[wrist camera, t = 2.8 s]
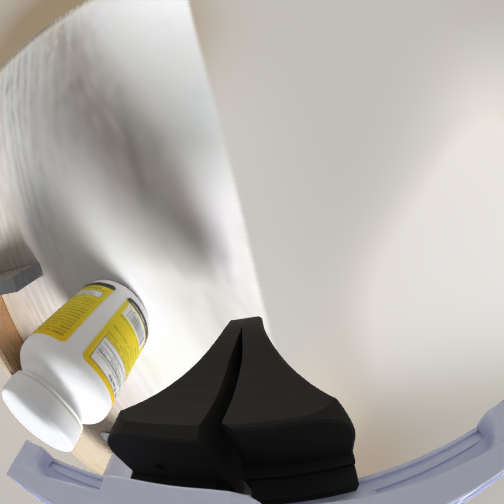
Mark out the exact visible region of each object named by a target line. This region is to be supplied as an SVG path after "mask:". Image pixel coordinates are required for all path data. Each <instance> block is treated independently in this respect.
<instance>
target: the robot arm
mask: <svg viewBox="0 0 504 504" xmlns="http://www.w3.org/2000/svg"><path fill="white" fill-rule="evenodd" d="M101 436H102V437H103V439H104V440H105V441H106V442H107V443H108V445H109V447H110V449H111V450H112V451H113V452H112V455H111V457H110V460H109V462H108V464H107V467H106V469H105V472H104V474H103V476H101V475H97V474H94V473H91V472H88V471H85V470H82V469H79V468H77V467H74V466H71V465H68V464H66V463H64V462H61V461H59V460H57V459H54V458H53V456H52V455H51V454H50V453H49V452H48V451H46V450H45V449H44V448H43V447H41V446H39V445H37V444H35V443H33V442H31V441H29V440H26V442H25V443H24V445H23V446H22V448H21V450H20V451H19V453H18V455H17V457H16V458H15V460H14V462H13V463H12V465H11V467H10V469H9V470H8V472H7V475H8V476H9V477H10V478H11V479H13V480H14V481H15V482H16V483H17V484H18V485H20V486H21V487H22V488H24V489H25V490H26V491H27V492H29V493H30V494H32V495H33V496H34V497H36V498H37V499H38V500H40V501H41V502H43V503H44V504H464V503H465V502H467V501H468V500H470V499H472V498H473V497H475V496H476V495H478V494H479V493H480V492H482V491H483V490H485V489H486V488H488V487H489V486H490V485H492V484H493V483H494V482H496V481H497V480H498V479H499V478H501V477H502V476H503V475H504V400H503V401H501V402H500V403H499V404H497V405H496V406H494V407H493V408H491V409H490V410H489V411H488V412H487V413H486V414H485V415H484V416H483V417H482V418H481V420H480V421H479V423H478V425H477V427H476V428H474V429H472V430H471V431H469V432H467V433H466V434H464V435H462V436H460V437H459V438H457V439H455V440H453V441H451V442H450V443H448V444H446V445H444V446H442V447H440V448H438V449H436V450H434V451H431V452H429V453H427V454H425V455H423V456H421V457H418V458H416V459H414V460H411V461H408V462H406V463H403V464H401V465H398V466H396V467H393V468H390V469H387V470H384V471H381V472H378V473H375V474H372V475H368V476H365V477H362V478H357V473H356V469H355V465H354V464H355V458H354V455H353V447H354V441H355V429H354V426H353V424H352V422H351V420H350V418H349V416H348V414H347V413H346V411H345V410H344V408H343V407H342V405H341V404H340V403H339V401H338V400H337V399H336V398H334V397H332V396H330V395H328V394H326V393H324V392H323V391H321V390H319V389H318V388H316V387H315V386H313V385H312V384H310V383H309V382H308V381H306V380H305V379H304V378H303V377H301V376H300V375H299V374H298V373H296V371H294V370H293V369H292V368H291V367H290V366H289V365H288V364H287V363H286V361H285V360H284V359H283V358H282V357H281V355H280V354H279V353H278V352H277V350H276V349H275V347H274V346H273V344H272V343H271V341H270V339H269V338H268V336H267V334H266V332H265V330H264V326H263V321H262V318H261V317H259V316H258V317H251V318H245V319H238V320H231V321H230V322H229V323H228V325H227V326H226V328H225V329H224V330H223V332H222V333H221V335H220V336H219V337H218V339H217V340H216V341H215V343H214V344H213V345H212V346H211V348H210V349H209V350H208V351H207V353H206V354H205V355H204V356H203V357H202V358H201V359H200V360H199V361H198V362H197V363H196V364H195V365H194V366H193V367H192V368H191V369H190V370H189V371H188V372H187V373H186V374H184V375H183V376H182V377H181V378H179V379H178V380H177V381H175V382H174V383H173V384H171V385H170V386H168V387H167V388H166V389H164V390H162V391H161V392H159V393H157V394H156V395H154V396H152V397H150V398H149V399H147V400H145V401H143V402H140V403H138V404H136V405H134V406H131V407H129V408H127V409H124V410H121V411H120V413H119V415H118V417H117V419H116V421H115V423H114V425H113V428H112V430H111V432H110V433H104V432H103V433H102V434H101Z"/></svg>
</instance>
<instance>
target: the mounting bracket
mask: <svg viewBox="0 0 504 504" xmlns="http://www.w3.org/2000/svg"><path fill="white" fill-rule="evenodd" d="M42 275H43V274H42V271H41V268H40V265H39V262H36V263H33V264H30V265H26V266H23V267H20V268H16V269H13V270H10V271H7V272H4V273H0V356H1V358H2V360H3V361H4V363H5V365H6V366H7V368H8V370H9V371H10V373H11V374H12V375H13V374H15V373H16V372H17V371H20V370H22V367H21V362H20V352H21V347H22V345H23V342H22V340H21V338H20V336H19V334H18V332H17V330H16V328H15V326H14V324H13V322H12V320H11V317H10V315H9V313H8V311H7V308H6V306H5V304H4V301H3V299H2V296H1V295H3V294H8V293H13V292H18V291H19V290H21V289H22V288H24V287H25V286H27V285H28V284H30V283H31V282H33V281H34V280H36V279H37V278H39V277H40V276H42ZM22 371H23V370H22Z"/></svg>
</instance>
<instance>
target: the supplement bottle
mask: <svg viewBox="0 0 504 504" xmlns="http://www.w3.org/2000/svg"><path fill="white" fill-rule="evenodd" d="M149 330H150V325H149V319H148V315H147V313H146V310H145V308H144V306H143V305H142V303H141V302H140V300H139V299H138V298H137V297H136V296H135V295H134V294H133V293H132V292H131V291H130V290H129V289H127V288H126V287H124V286H123V285H121V284H119V283H116V282H114V281H110V280H96V281H93V282H91V283H89V284H88V285H86V286H85V287H84V288H82V289H81V290H80V291H79V292H78V293H76V294H75V295H74V296H73V297H72V298H71V299H70V300H69V301H67V302H66V303H65V304H64V305H63V306H62V307H61V308H59V309H58V310H57V311H56V312H55V313H54V314H53V315H52V316H51V317H49V318H48V319H47V320H46V321H45V322H44V323H43V324H42V325H41V326H40V327H39V328H38V329H36V330H35V331H34V332H33V333H32V334H31V335H30V336H29V337H28V338H27V339H26V341H25V342H24V343H23V345H22V347H21V352H20V362H21V367H22V370H23V371H22V370H20V371H17V372H16V373H15V374H13V375H12V376H11V378H10V379H9V381H8V382H7V383H6V384H5V386H4V387H3V388H2V392H1V393H2V397H3V399H4V401H5V403H6V405H7V406H8V408H9V409H10V411H11V412H12V413H13V415H14V416H15V417H16V418H17V419H18V420H19V421H20V422H21V423H22V424H23V425H24V426H25V427H26V428H27V429H28V430H29V431H30V432H31V433H33V434H34V435H35V436H36V437H38V438H39V439H41V440H42V441H44V442H45V443H47V444H48V445H50V446H52V447H54V448H56V449H58V450H61V451H65V452H70V451H72V449H73V448H74V446H75V444H76V442H77V441H78V439H79V437H80V435H81V432H82V431H83V425H82V424H95V423H98V422H100V421H102V420H103V419H104V418H105V417H106V416H107V414H108V412H109V411H110V409H111V407H112V405H113V403H114V401H115V399H116V397H117V395H118V393H119V392H120V390H121V388H122V386H123V384H124V382H125V380H126V378H127V376H128V375H129V373H130V371H131V369H132V367H133V365H134V363H135V361H136V359H137V358H138V356H139V354H140V352H141V350H142V349H143V347H144V345H145V343H146V340H147V338H148V335H149Z"/></svg>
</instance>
